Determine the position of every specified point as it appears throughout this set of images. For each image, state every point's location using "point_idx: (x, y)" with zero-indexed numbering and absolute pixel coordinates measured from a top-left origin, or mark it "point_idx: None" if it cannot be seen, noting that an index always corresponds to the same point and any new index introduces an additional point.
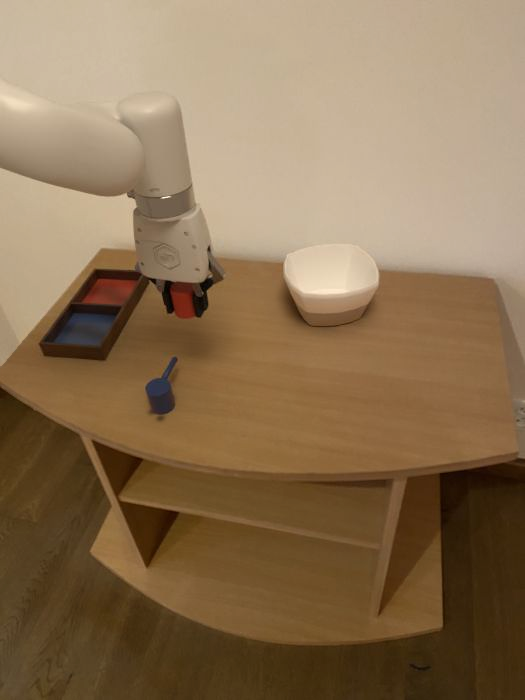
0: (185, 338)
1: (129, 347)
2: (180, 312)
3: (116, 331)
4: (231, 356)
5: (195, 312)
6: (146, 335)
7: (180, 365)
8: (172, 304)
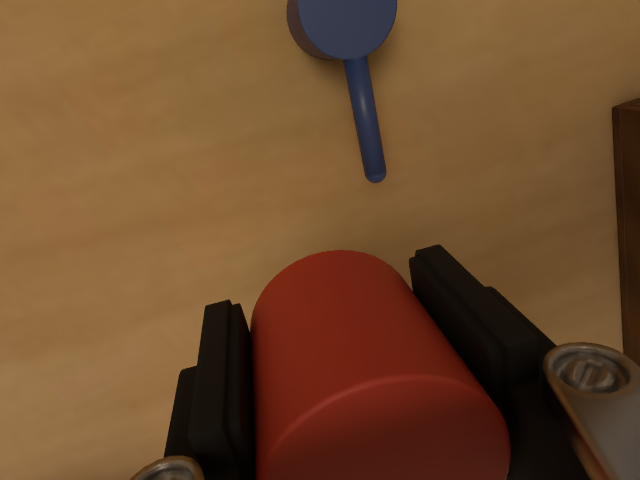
0: None
1: (564, 190)
2: (334, 273)
3: (634, 218)
4: (252, 296)
5: (234, 322)
6: (539, 254)
7: (376, 196)
8: (432, 310)
